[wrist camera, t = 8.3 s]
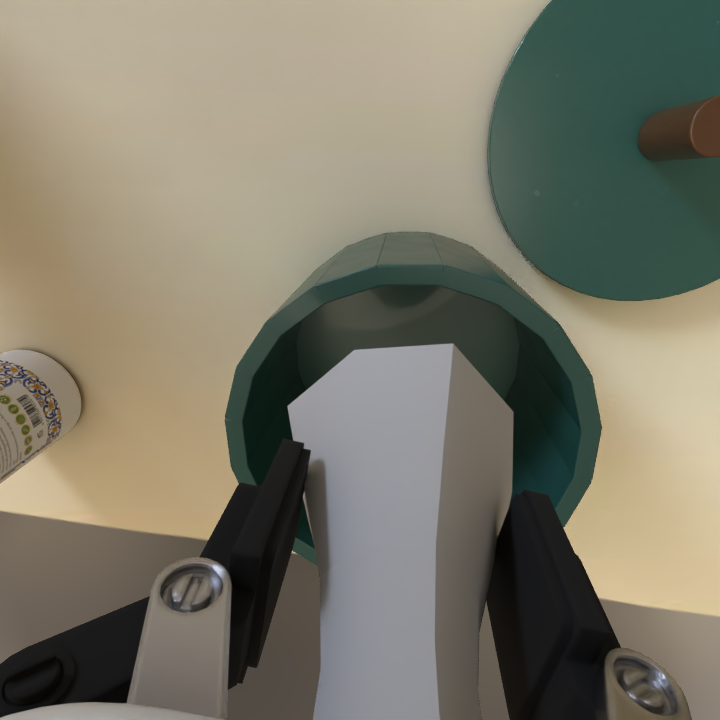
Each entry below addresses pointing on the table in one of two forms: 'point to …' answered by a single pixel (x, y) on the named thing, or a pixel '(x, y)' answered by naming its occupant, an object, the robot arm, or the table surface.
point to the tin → (416, 328)
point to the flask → (403, 528)
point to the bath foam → (33, 407)
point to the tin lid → (613, 146)
